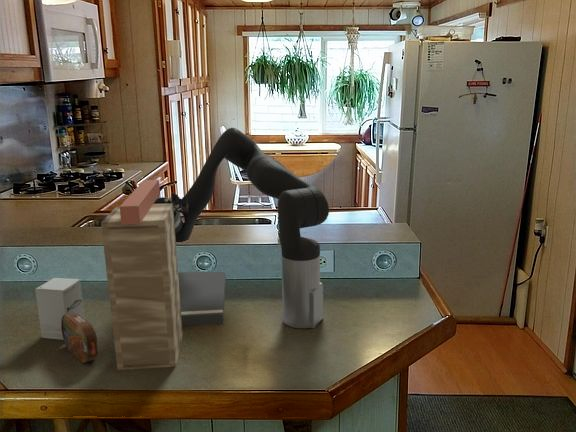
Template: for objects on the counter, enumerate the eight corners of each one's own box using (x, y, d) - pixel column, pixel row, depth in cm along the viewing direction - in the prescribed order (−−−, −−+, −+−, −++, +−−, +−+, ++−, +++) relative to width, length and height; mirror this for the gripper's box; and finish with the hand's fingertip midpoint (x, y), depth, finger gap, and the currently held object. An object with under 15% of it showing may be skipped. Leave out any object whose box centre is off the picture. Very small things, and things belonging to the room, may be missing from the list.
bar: (144, 194, 124) (143, 180, 123) (159, 194, 125) (158, 179, 124) (121, 224, 99) (119, 206, 98) (140, 223, 100) (138, 205, 99)
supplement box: (69, 341, 122) (62, 290, 118) (41, 338, 123) (33, 288, 120) (87, 326, 129) (81, 278, 125) (60, 324, 130) (53, 276, 127)
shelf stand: (130, 337, 123) (117, 205, 114) (182, 334, 124) (172, 203, 115) (117, 370, 109) (100, 222, 101) (175, 366, 110) (164, 220, 102)
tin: (62, 343, 121) (57, 310, 118) (75, 339, 123) (71, 306, 120) (87, 369, 110) (83, 333, 108) (102, 364, 112) (98, 328, 110)
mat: (165, 281, 156) (164, 272, 156) (225, 278, 158) (225, 270, 157) (148, 327, 128) (147, 317, 127) (223, 323, 129) (222, 313, 128)
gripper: (139, 202, 144) (125, 183, 128) (191, 200, 145) (184, 181, 130) (138, 229, 142) (125, 213, 126) (191, 227, 143) (184, 210, 128)
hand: (155, 197), depth 128 cm, fingers open, 8 cm apart
